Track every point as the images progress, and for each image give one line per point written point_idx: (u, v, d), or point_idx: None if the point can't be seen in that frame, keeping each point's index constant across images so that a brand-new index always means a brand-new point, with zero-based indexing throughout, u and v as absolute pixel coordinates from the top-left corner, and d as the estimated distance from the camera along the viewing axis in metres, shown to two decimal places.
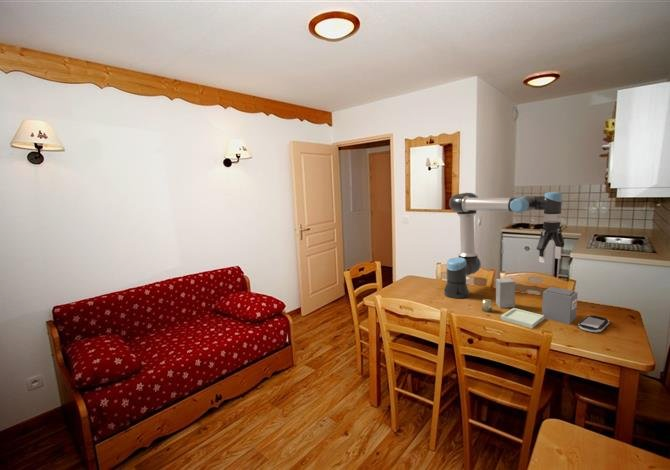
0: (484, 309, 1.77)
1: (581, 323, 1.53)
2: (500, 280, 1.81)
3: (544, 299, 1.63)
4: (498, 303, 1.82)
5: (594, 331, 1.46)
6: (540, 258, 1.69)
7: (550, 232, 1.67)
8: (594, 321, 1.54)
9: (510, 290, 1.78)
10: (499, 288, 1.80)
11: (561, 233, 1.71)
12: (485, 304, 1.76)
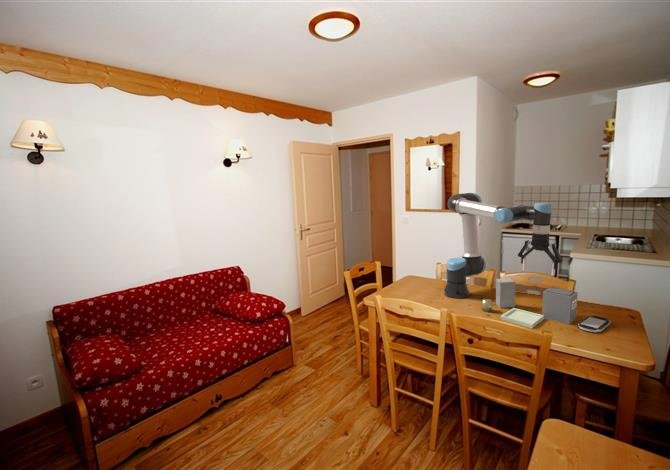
0: (484, 309, 1.77)
1: (581, 323, 1.53)
2: (500, 280, 1.81)
3: (544, 299, 1.63)
4: (498, 303, 1.82)
5: (593, 331, 1.46)
6: None
7: (533, 242, 1.66)
8: (595, 321, 1.54)
9: (510, 290, 1.78)
10: (499, 288, 1.80)
11: (554, 248, 1.59)
12: (485, 304, 1.76)
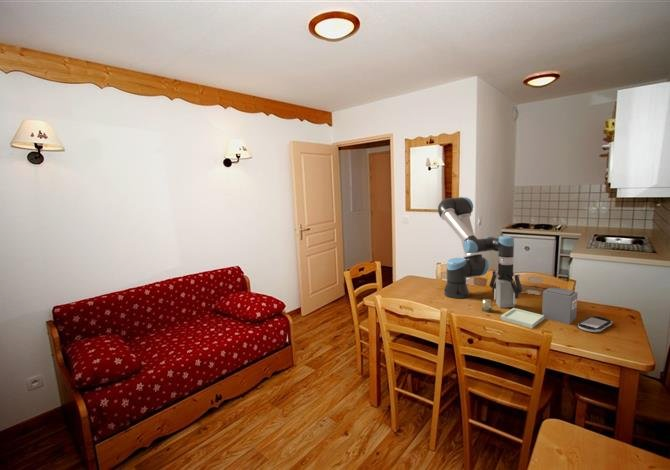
0: (484, 309, 1.77)
1: (581, 323, 1.53)
2: (500, 280, 1.81)
3: (544, 299, 1.63)
4: (498, 303, 1.82)
5: (592, 331, 1.46)
6: None
7: (499, 272, 1.81)
8: (595, 321, 1.54)
9: (510, 290, 1.78)
10: (499, 288, 1.80)
11: (517, 279, 1.74)
12: (485, 304, 1.76)
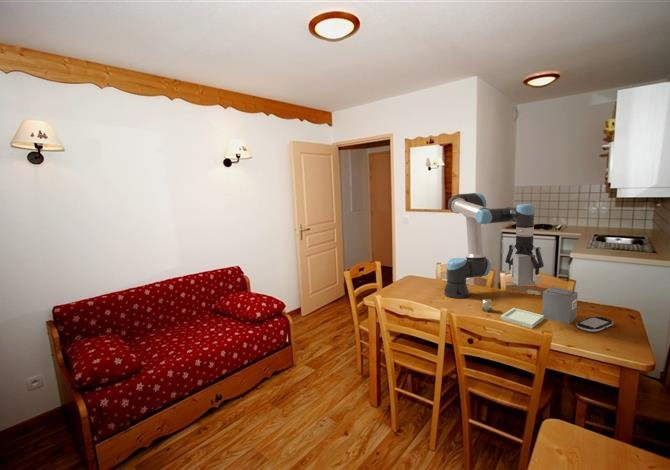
0: (484, 309, 1.77)
1: (580, 322, 1.54)
2: (518, 254, 1.59)
3: (544, 299, 1.63)
4: (516, 281, 1.61)
5: (590, 330, 1.47)
6: None
7: (517, 245, 1.60)
8: (596, 321, 1.54)
9: (530, 266, 1.57)
10: (517, 263, 1.58)
11: (537, 252, 1.53)
12: (485, 304, 1.76)
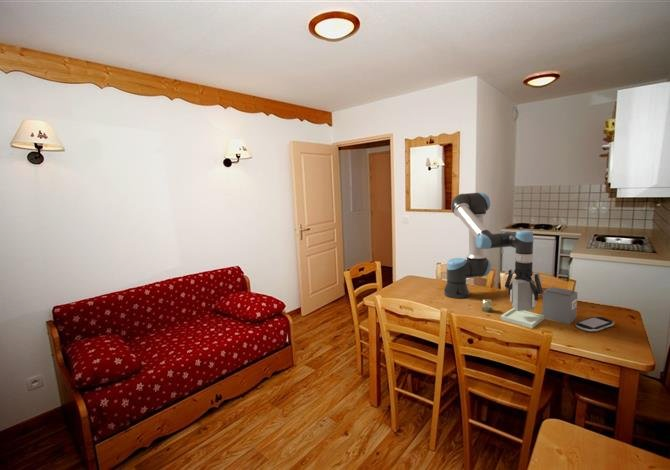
0: (484, 309, 1.77)
1: (580, 322, 1.54)
2: (517, 280, 1.61)
3: (544, 299, 1.63)
4: (515, 306, 1.63)
5: (588, 330, 1.47)
6: None
7: (516, 271, 1.62)
8: (596, 321, 1.54)
9: (529, 291, 1.59)
10: (516, 289, 1.60)
11: (536, 279, 1.55)
12: (485, 304, 1.76)
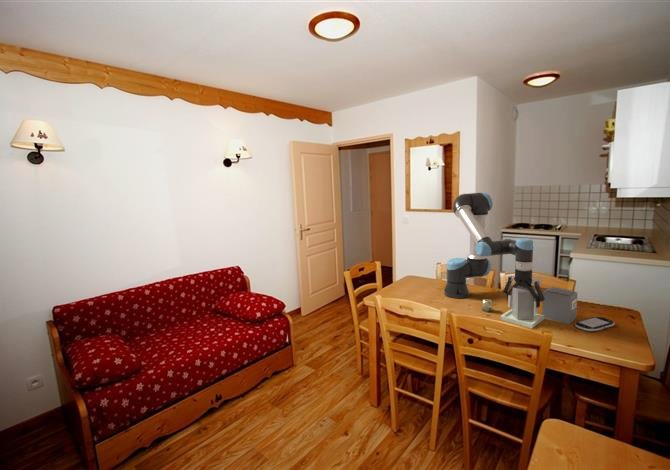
0: (484, 309, 1.77)
1: (579, 322, 1.54)
2: (517, 289, 1.62)
3: None
4: (515, 314, 1.64)
5: (587, 329, 1.48)
6: None
7: (516, 278, 1.63)
8: (596, 321, 1.53)
9: (529, 301, 1.60)
10: (516, 298, 1.61)
11: (537, 286, 1.56)
12: (485, 304, 1.76)
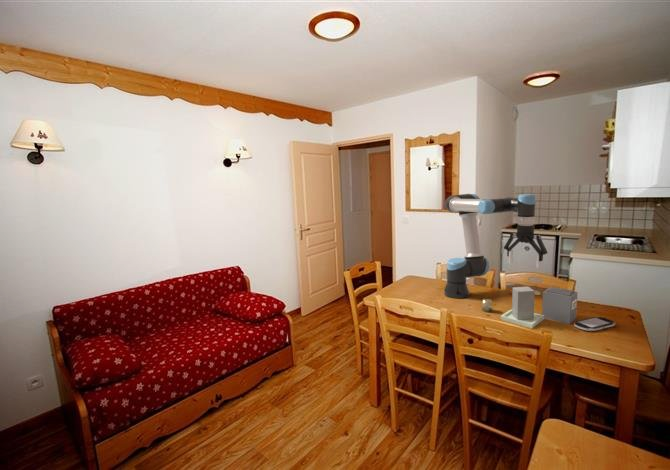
0: (484, 309, 1.77)
1: (579, 321, 1.55)
2: (517, 289, 1.62)
3: (544, 299, 1.63)
4: (515, 314, 1.64)
5: (585, 329, 1.48)
6: None
7: (518, 234, 1.65)
8: (596, 321, 1.53)
9: (529, 301, 1.60)
10: (516, 298, 1.61)
11: (539, 240, 1.57)
12: (485, 304, 1.76)
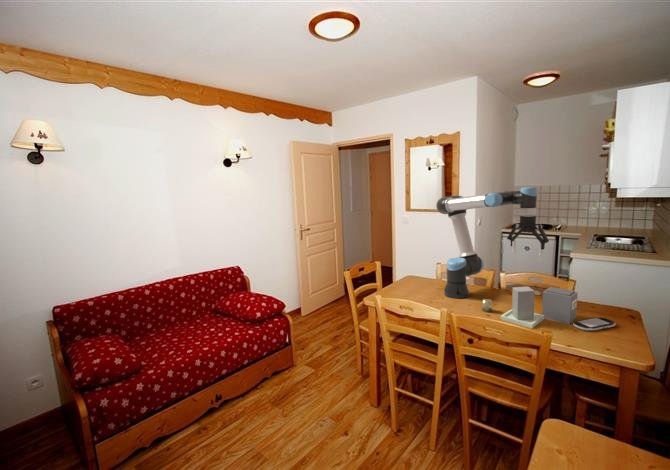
0: (484, 309, 1.77)
1: (578, 321, 1.55)
2: (517, 289, 1.62)
3: (544, 299, 1.63)
4: (515, 314, 1.64)
5: (584, 329, 1.48)
6: None
7: (521, 225, 1.75)
8: (596, 322, 1.53)
9: (529, 301, 1.60)
10: (516, 298, 1.61)
11: (540, 229, 1.68)
12: (485, 304, 1.76)
